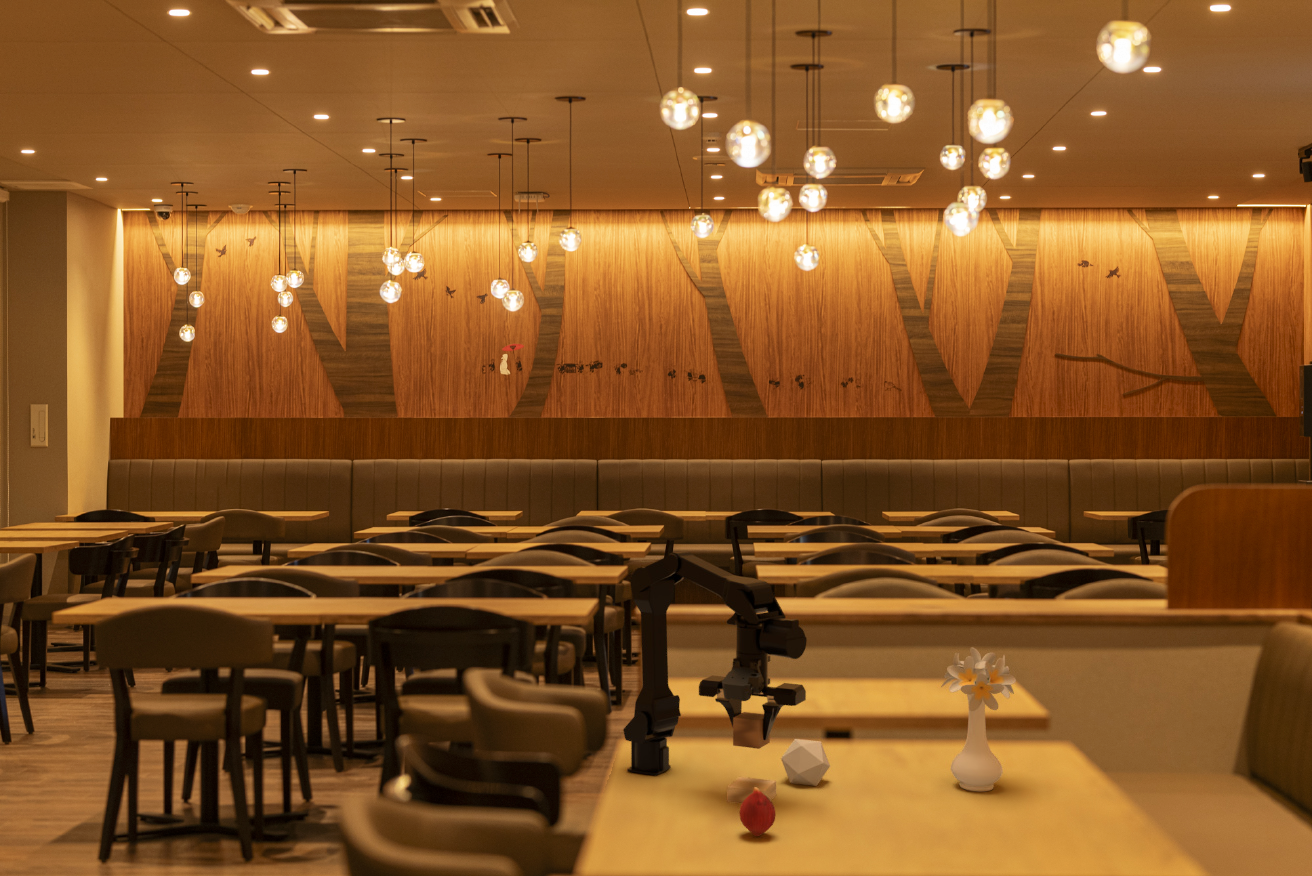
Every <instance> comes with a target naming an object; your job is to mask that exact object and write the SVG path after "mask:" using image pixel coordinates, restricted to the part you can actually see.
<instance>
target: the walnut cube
mask: <svg viewBox="0 0 1312 876" xmlns="http://www.w3.org/2000/svg"><path fill="white" fill-rule="evenodd" d="M763 723H764V713H756V712H750V711H749V712H747V711H743V712H741V714H739V715H737V716H735V717H734V718H733V727H732V729H733V730H732V745H733V746H734V747H742V748H750V749H751V748H752V749H757V750H760V749H762V748H763V747H765V746H766V745H768V744H770V741H771V739H770V738H771V737H770V735H771V733H770V734H769V737H768V739H767V740H763Z"/></svg>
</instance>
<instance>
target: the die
mask: <svg viewBox="0 0 1312 876" xmlns="http://www.w3.org/2000/svg"><path fill="white" fill-rule="evenodd" d="M780 759H781V760H780V761H781V762H782V765H783V768H784V771H785V773H786V775H787V778H788V780H789V784H795V785H803V786H813V787H817V786H818V784H819V783H820V782H821V780H822V779H823V777H824V776H825V774H826V773H827V771H828V770H829V769H830V767H831V765H830V762H829V759H828V757H827V753H826V752H825V749H824V746H823V744H822V741H820V740H819V741H818V740H812V739H811V740H810V739H802V738H794V740H793V741H792V742H791V744H790V745H789V746H788V748H787V749H786V751H785V752H784V754H783V755H781V757H780Z"/></svg>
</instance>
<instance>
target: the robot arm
mask: <svg viewBox="0 0 1312 876" xmlns="http://www.w3.org/2000/svg"><path fill="white" fill-rule="evenodd" d="M684 579H686V580H687V581H690V582H691V583H693V584H695V585H697V586H699V587H701V588H704V589H706V590H707V591H709V592H711V593H713V594H714V595H715V594H716V595H717V596H718V597H720V598H721V599H722V601H723V603H724V605H725V606H726V607H728V608H729V609H730V610H732V611H733V612H734V614H732V615H731V616H730V617H729V618H728V619H727V620H726V624H727V625H730V626H731V625H732V626H735V657H734V658H733V659H732V660H733V661H732V667H731V670H730V671H729V672H728V673H726V675H725V676H723V675H722V676H721V675H720V676H719V675H710V676H708V677H706V678H704V679H701V681H700V683H699V684H698V696H700V697H707V698H715V697H716V698H715V702H716V703H720V704H721V705H722V706H723V707H724V709H725V711H726V713H727V715H728V718H729V720H730V724H731V726H732V728H733V718H734V717H735V716H737V715H739V714H741V713H743V712H742V711H743V710H742V706H743V705H742V702H747V701H749V700H750V699H751V697H752V696H753V697H761V698H762V697H763V698H766V700H767V702H765V703H763V704H762V705H761V707H762V709H763V714H764V723H763V740H767V739H768V737H769V734H770V735H771V732H772V728H773V726H774V724H775V721H776V719H777V716H778V714H779V712H780V711H781V709H782V708H783V707H784V706H789V707H790V706H791V707H793V706H798V705H799V704H801V703H803V702H805V701H806V700H807V699H806V698H807V697H806V696H807V695H806V694H807V692H806V689H805V687H804V686H803V684H797V683H791V682H790V683H789V682H783V683H782V684H779V685H778V686H776V687H775V686H769V685H771V678H769V677H768V676H769V663H770V662H771V656H775V657H780V658H785V659H792V660H797V659H800V658H801V657H802V656H803V654H804V652H805V650H806V647H807V641H808V640H807V637H806V634H805V631H804V629H803V628H802V627H800V626H799V625H800V624H799V623H800V621H799V619H798V618H790V619H789V618H786V614H785V613H784V611H783V609H782V608H781V606H780V604H779V602H778V600H777V597H776V596H775V594H774V592H773V590H772V588H773V587H772V585H771V584H770V583H768V581H765V580H761V579H757V578H754V577H746V576H739V575H736V574H732V573H731V572H729V571H727V570H725V569H723V568H720V567H719V566H716V565H714V564H712V563H710V562H708V561H707V560H704V559H702V558H700V557H698V556H696V555H694V554H693V553H692V552H690V551H687V550H684V551H677V552H676V551H675V552H674V551H673V552H671V553H669V554H668V555H666V556H665V557H662V558H661V559H660V560H657V561H655V562H652V563H651V564H648V565H646V566H644V567H637V569H635V570H634V572H633V573H631V576H630V589H631V596H632V601H633V602H634V604H635V605H636V607H637V609H638V610H639V613H640V631H641V632H640V633H641V669H642V671H641V672H642V674H641V675H642V676H641V677H642V688H641V690H640V692H639V694H638V696H637V698H636V700H635V702H634V712H633V713H634V714H633V717H632V719H631V720H630V721H628V723H627V724H626V725H625V726H624V727H623V730H622V731H623V735H624V739H625V741H627V742H631V743H630V747H631V750H630V756H631V757H630V759H631V761H630V764H631V765H630V767H628V768H627V769H626V770H627V772H629V773H631V772H632V773H637V774H642V775H643V774H644V775H650V776H658V775H660V774H662V773H664V772H665V771H668V770H669V769H671V764H670V747H669V746H668V745H667V743H668V738H672V737H673V735H674V732H675V728H676V725H678V723H679V719H680V718H679V717H681V716H682V713H681V711H680V710H681V709H680V701H681V698H680V696H679V695H678V694H674V693H673V692H672V689H671V688H670V686H669V668H668V667H669V666H668V662H669V661H668V660H669V659H668V626H667V621H668V620H667V612H668V610H669V607H670V606H671V603H672V601H673V599H674V595H675V586H676V585H677V584H678V583H679V582H681V581H683V580H684Z"/></svg>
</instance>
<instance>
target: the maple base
mask: <svg viewBox="0 0 1312 876" xmlns="http://www.w3.org/2000/svg"><path fill="white" fill-rule="evenodd" d="M754 787H757V788H758V789H759V790H760V791H761V792H762V793H763V794H764V795H766V796H767V797H768V798H769V799H770V801H771V802H772V800H773V799H774V798H776V796H777V780H773V779H772V780H771V779H764V778H756V777H755V778H754V777H747V776H746V777H745V776H739V777H737V778H736V779H735V780H734V781H732V782H731V783H730V784H728V785H727V786H726V802H727V803H734V804H742V803H743V801H744V800H745V799H746V798H747V797H748V796H749V795H750V794H752V793H753V790H754Z"/></svg>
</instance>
